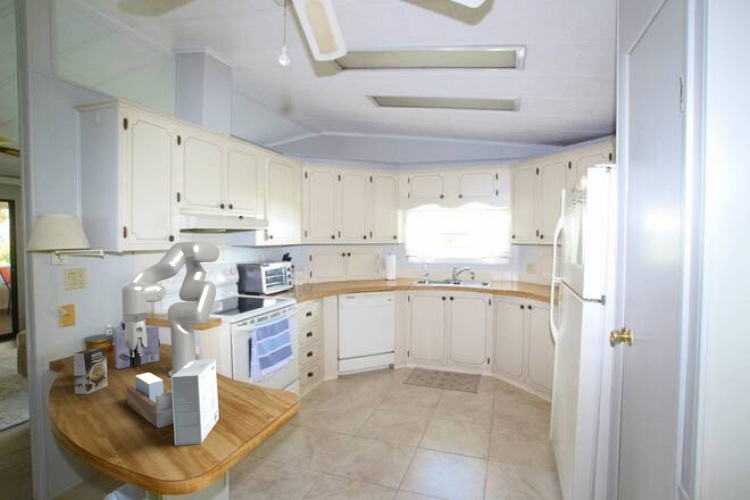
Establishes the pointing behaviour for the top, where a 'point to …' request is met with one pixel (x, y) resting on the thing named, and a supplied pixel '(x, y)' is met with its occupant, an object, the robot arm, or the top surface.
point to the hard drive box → (194, 401)
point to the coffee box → (90, 370)
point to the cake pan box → (147, 353)
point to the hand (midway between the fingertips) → (135, 366)
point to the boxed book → (149, 385)
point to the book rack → (152, 407)
